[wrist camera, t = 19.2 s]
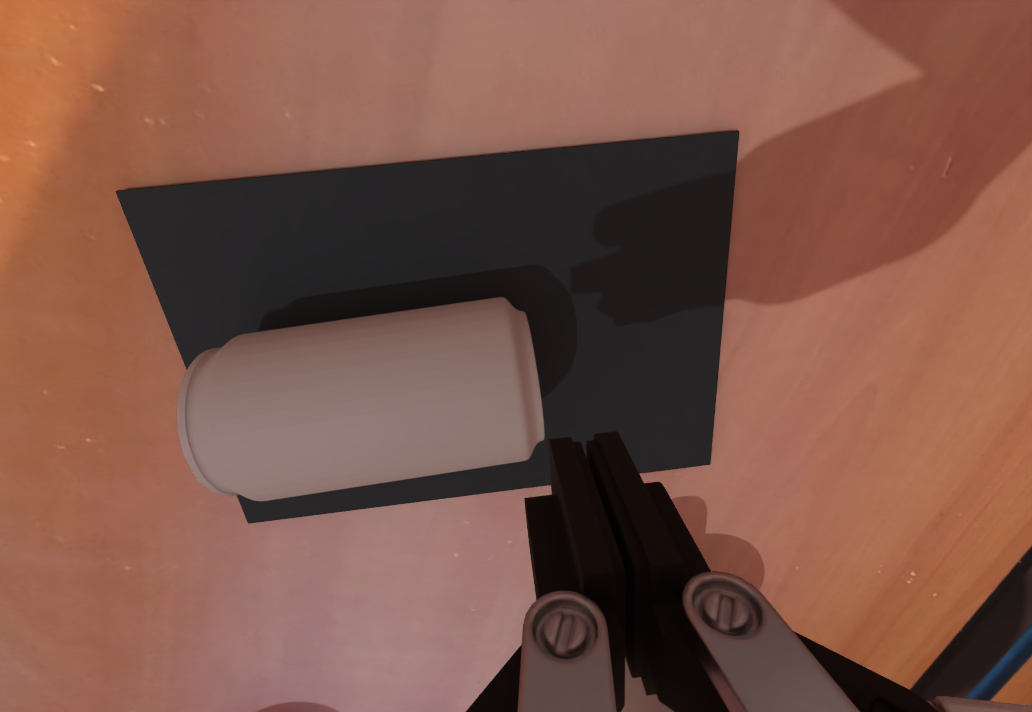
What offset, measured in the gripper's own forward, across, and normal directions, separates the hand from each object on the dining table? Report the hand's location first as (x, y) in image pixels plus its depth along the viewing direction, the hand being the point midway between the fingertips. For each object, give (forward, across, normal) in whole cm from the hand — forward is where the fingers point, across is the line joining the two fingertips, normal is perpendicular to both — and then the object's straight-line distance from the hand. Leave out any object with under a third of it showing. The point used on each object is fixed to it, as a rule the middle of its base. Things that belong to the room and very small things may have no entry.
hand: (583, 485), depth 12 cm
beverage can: (+8, 0, +1) cm, 8 cm away
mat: (+11, +3, +1) cm, 12 cm away
